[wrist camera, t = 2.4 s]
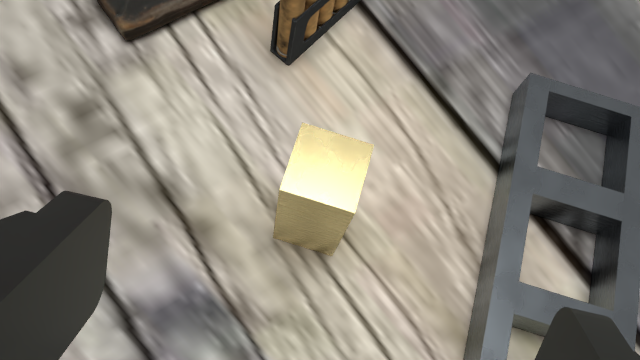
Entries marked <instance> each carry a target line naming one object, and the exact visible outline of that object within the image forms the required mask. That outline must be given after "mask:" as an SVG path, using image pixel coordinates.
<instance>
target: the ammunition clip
mask: <svg viewBox="0 0 640 360" xmlns="http://www.w3.org/2000/svg"><path fill="white" fill-rule="evenodd" d="M359 1H360V0H280V1H279V2H278V3H277V4H276V5H275V10H274V20H273V30H272V40H271V52H272V53H274V54H275V55H276V56H277V57H278V58H280V59H281V60H282V61H283V62H285V63H286V64H287V65H290V64H291V63H292V62H294V61H295V60H296V59H297V58H298V57H299V56H300V55H301V54H302V53H303V52H305V51H306V50H307V49H308V48H309V47H310V46H311V45H312V44H313V43H314V42H315V41H317V40H318V39H319V38H320V37H321V36H322V35H323V34H324V33H325V32H326V31H328V30H329V29H330V28H331V27H332V26H333V25H334V24H335V23H336V22H337V21H339V20H340V19H341V18H342V17H343V16H344V15H345V14H346V13H347V12H348V11H349V10H351V9H352V8H353V7H354V6H355V5H356V4H357V3H358V2H359Z"/></svg>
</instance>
